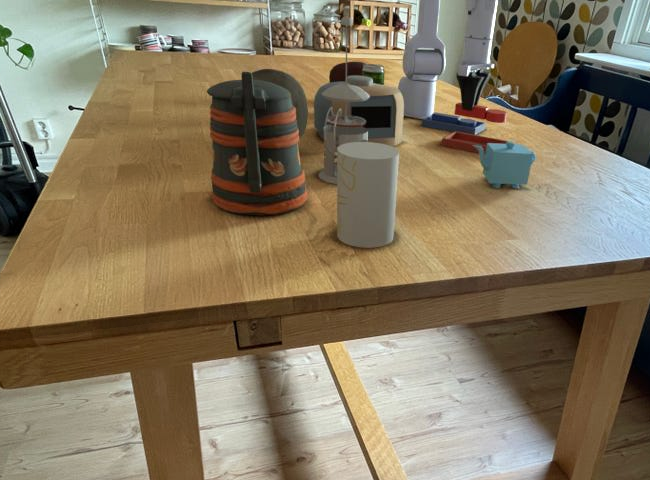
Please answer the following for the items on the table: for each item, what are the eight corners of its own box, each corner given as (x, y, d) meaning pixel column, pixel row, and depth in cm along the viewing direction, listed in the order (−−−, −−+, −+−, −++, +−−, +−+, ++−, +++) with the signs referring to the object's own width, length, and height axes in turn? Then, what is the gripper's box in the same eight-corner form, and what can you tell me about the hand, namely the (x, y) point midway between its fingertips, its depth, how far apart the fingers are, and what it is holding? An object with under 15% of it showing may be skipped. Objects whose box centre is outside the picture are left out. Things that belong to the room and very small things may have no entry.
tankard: (318, 227, 81) (315, 76, 69) (213, 232, 77) (191, 73, 65) (300, 184, 95) (296, 54, 84) (212, 186, 92) (194, 50, 80)
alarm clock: (331, 151, 114) (331, 86, 107) (304, 127, 128) (302, 69, 121) (414, 147, 121) (419, 86, 114) (380, 124, 135) (382, 69, 128)
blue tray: (421, 125, 137) (422, 119, 136) (433, 120, 143) (434, 113, 142) (474, 135, 133) (475, 128, 132) (484, 129, 139) (485, 122, 138)
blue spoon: (429, 123, 138) (430, 114, 137) (436, 120, 141) (436, 111, 140) (472, 131, 134) (473, 121, 133) (478, 128, 138) (479, 118, 136)
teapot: (470, 187, 101) (476, 144, 96) (464, 176, 106) (470, 135, 101) (533, 190, 102) (542, 148, 97) (525, 179, 107) (533, 139, 102)
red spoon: (452, 115, 121) (453, 104, 120) (459, 112, 124) (460, 101, 123) (502, 123, 117) (504, 112, 116) (508, 120, 121) (509, 109, 119)
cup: (337, 224, 82) (337, 140, 75) (391, 225, 83) (396, 143, 76) (336, 246, 76) (337, 157, 69) (395, 248, 77) (401, 160, 70)
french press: (379, 173, 104) (386, 17, 89) (355, 191, 95) (359, 21, 80) (332, 164, 106) (331, 11, 91) (304, 181, 97) (298, 15, 82)
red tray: (441, 145, 123) (442, 138, 122) (454, 138, 129) (454, 131, 128) (501, 157, 119) (502, 149, 118) (511, 149, 125) (512, 141, 124)
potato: (334, 97, 159) (333, 56, 153) (379, 101, 158) (380, 61, 152) (324, 104, 150) (323, 61, 144) (372, 109, 149) (373, 66, 143)
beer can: (386, 120, 140) (389, 67, 133) (369, 122, 137) (371, 68, 130) (373, 115, 143) (375, 63, 136) (356, 117, 140) (358, 64, 133)
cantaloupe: (223, 151, 108) (213, 66, 100) (281, 141, 117) (277, 62, 108) (266, 169, 101) (260, 79, 92) (325, 157, 110) (324, 73, 101)
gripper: (485, 42, 106) (475, 117, 114) (507, 37, 117) (496, 106, 125) (451, 38, 108) (444, 112, 116) (475, 34, 119) (467, 101, 127)
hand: (469, 109), depth 121 cm, fingers closed on red spoon, 2 cm apart
